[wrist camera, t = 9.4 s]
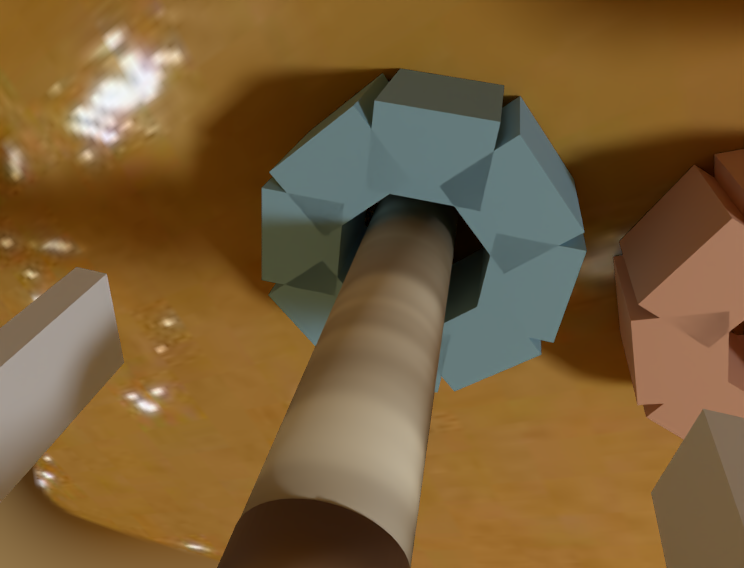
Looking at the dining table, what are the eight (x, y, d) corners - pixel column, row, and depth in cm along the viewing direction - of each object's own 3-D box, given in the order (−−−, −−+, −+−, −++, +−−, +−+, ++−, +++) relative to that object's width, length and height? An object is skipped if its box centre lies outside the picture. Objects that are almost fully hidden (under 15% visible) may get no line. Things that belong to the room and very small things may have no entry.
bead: (306, 53, 19) (261, 81, 16) (606, 102, 18) (625, 143, 15) (296, 293, 25) (261, 351, 21) (526, 343, 23) (527, 413, 20)
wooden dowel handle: (382, 167, 21) (170, 606, 7) (466, 182, 20) (407, 668, 7) (373, 241, 22) (185, 711, 9) (450, 256, 22) (376, 765, 9)
